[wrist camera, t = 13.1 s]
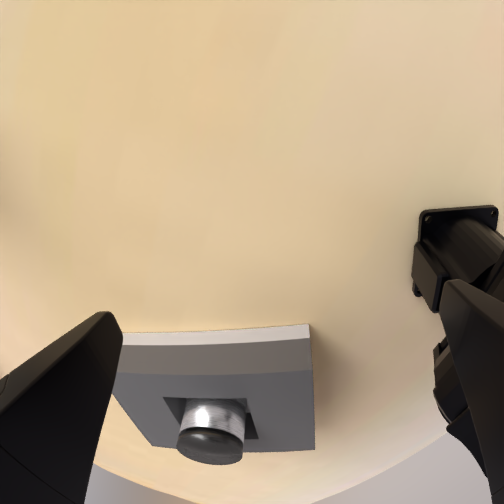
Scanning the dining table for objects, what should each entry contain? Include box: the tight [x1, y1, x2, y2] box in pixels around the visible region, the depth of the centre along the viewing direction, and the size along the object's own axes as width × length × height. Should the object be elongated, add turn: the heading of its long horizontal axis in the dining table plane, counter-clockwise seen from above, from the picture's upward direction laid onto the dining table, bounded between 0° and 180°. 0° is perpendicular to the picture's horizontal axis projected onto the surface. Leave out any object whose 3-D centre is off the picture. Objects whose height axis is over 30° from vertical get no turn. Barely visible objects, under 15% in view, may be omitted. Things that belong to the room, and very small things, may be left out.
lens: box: [176, 398, 247, 465], centre depth 23 cm, size 5×5×6 cm
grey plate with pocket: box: [112, 324, 315, 452], centre depth 25 cm, size 16×12×4 cm
